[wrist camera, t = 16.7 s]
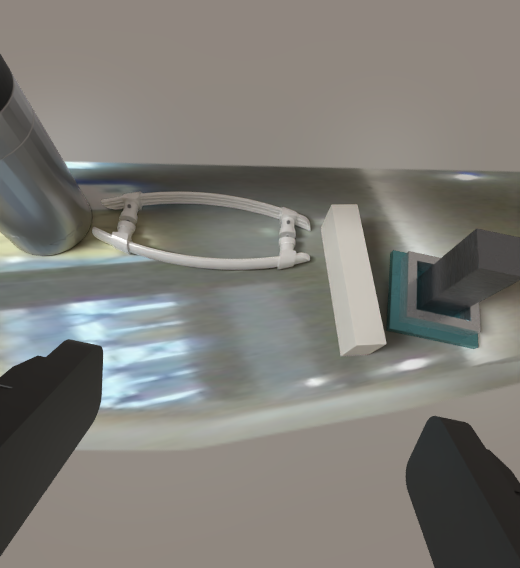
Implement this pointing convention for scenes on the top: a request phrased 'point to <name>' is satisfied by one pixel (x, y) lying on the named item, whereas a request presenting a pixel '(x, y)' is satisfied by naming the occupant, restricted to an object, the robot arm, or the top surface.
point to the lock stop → (469, 273)
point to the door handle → (139, 199)
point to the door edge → (351, 282)
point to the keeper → (423, 323)
